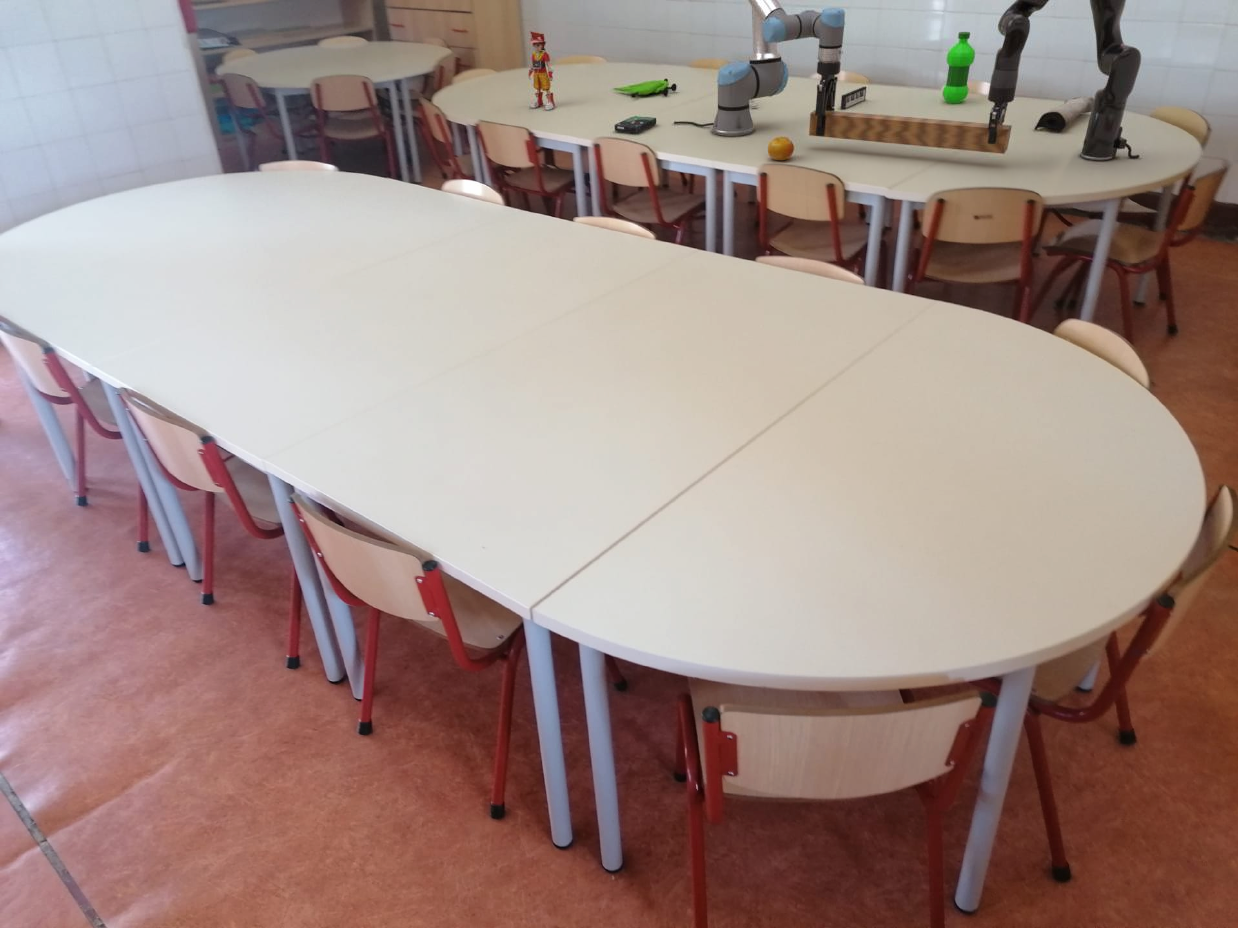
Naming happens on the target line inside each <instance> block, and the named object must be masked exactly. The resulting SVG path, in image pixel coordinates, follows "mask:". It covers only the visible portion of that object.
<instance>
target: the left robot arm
mask: <svg viewBox="0 0 1238 928" xmlns="http://www.w3.org/2000/svg"><path fill="white" fill-rule="evenodd" d="M747 1H748V2H749V4H750V6H751V20H752V21H751V22H752V24H751V25H752V48H753V49H752V55H751V56H750V57H749V59H748V61H733V62H729V63H726V64H724V65H723V66H721V67H720V68H719V70H718V75H717V111H716V114H715V118H714V120H713V122H708V123H702V124H701V123H698V122H695V121H687V120H686V121H685V120H684V121H673V124H675V125H677V124H678V125H679V124H681V125H682V124H683V125H685V124H686V125H692V126H696V127H703V128H704V127H708V126H709V127H711V126H712V133H713V134H715V135H717V136H721V137H741V136H746V135H750V134H752V133H754V127H755V126H754V121H753V118H752V115H751V111H750V107H749V100H750V99H752V100H756V99H760V98H761V99H762V98H767V97H769V98H770V97H773V96H776V95H780V94H781V93H782V92H784V89H785V88H786V87H787V84H788V81H789V67H787V66H788V65H787V63H786V62H785V60H783V59H782V55H781V54H780V53H779V52H778V43H782V42H789V41H794V40H802V39H808V38H815V39H819V40H818V41H819V42H818V49H817V50H818V51H817V60H818V62H817V66H816V73H817V75H820V76H821V78H820V81H819V84H817V85H816V100H815V110H816V111H815V116H817V128H816V135H820V136H824V132H825V121H826V116H825V111H826V110H827V111H836V108H835V104H836V96H837V95H836V94H837V83H838V78H839V77H838V76H836V75H839V74H840V72H841V59H842V54H844V51H843V43H844V33H845V25H846V21H845V18H846V11H845V10H844V9H843V8H840V7H828V8H823V9H822V10H821V12H820V11H816V10H813V9H811V10H809V9H806V10H803V11H801V13H796V14H787V12H786V11H785V10H784V8H783V7H782V5H781V4H780V2H779V0H747Z"/></svg>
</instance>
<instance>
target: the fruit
mask: <svg viewBox="0 0 1238 928" xmlns="http://www.w3.org/2000/svg"><path fill="white" fill-rule="evenodd" d="M794 152H795V145H794V143H793V141H792V140H791V139H790V138H789V137H786V136H779V137H775V138H773V139H772V140H771V141H769V143H768V146H767V153H768V155H769V157H770V158H771V159H773V160H775V161H784V160H788V159H789V158H791V156H792V155H793V154H794Z"/></svg>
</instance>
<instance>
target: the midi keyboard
mask: <svg viewBox="0 0 1238 928" xmlns="http://www.w3.org/2000/svg"><path fill="white" fill-rule="evenodd" d="M866 94H867V86H861V87H860V88H857V89H855V90H852V91H849V92H847V93H844V94H842V95H841V100H840V110H845V109H847V108H849V107H851V106H853V105H856V104H857V103H860V102H862V101H865V100H866V96H867V95H866Z"/></svg>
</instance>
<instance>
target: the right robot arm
mask: <svg viewBox="0 0 1238 928" xmlns="http://www.w3.org/2000/svg"><path fill="white" fill-rule="evenodd" d="M1049 1H1050V0H1015V1H1013V3H1012V4H1011V5H1010V6H1009V7H1008V8H1007V9H1006V10H1004V13H1003V14H1002V15H1001V17H1000V19H999V21H998V24H997V28H998V32H999V34H1000V35H1001V36H1003V37H1004V40H1003V42H1002V46H1001V47H1000V48H998V49H997V52H996V55H995V59H994V66H993V70H992V74H991V78H990V84H989V90H988V96H987V100H988V101H989V102H991V103H994V104H993V106H992V107H991V109H990V113H989V118H988V119H989V120H988V124H989V126H988V131H989V137H988V144H994V143H995V141H996V136H997V131H998V127H999V124H1001V125H1004V123H1005V118H1006V114H1007V110H1008V106H1009V103H1012V102H1013V101H1014V100H1015V97H1016V96H1015V95H1016V90H1017V85H1018V78H1019V69H1020V64H1021V58H1022V53H1023V50H1024V48H1025V46H1026V43H1027V41H1028V38H1029V36H1030V31H1031V20H1030V17H1031V16H1032V15H1033V14H1034V13H1035V12H1039V11H1041V10H1042V9H1043V8H1044V7H1045V6H1046V5H1047V4H1048V2H1049ZM1126 2H1127V0H1089V6H1090V10H1091V14H1092V23H1093V28H1094V32H1095V44H1096V61H1097V62H1096V63H1097V67H1098V70H1099V71H1100V72H1101V74H1102V75H1104V76H1107V77H1108V78H1107V81H1106V84H1105V86H1104V87H1103V88H1102V87H1101V88H1099V89H1097V90H1096V92H1095V94H1094V97H1093V99H1094V102H1093V106H1092V111H1091V112H1090V114H1089V115H1090V116H1089V120H1088V123H1087V129H1086V131H1085V136H1084V139H1083V140H1082V141H1083V143H1082V148H1081V152H1080V157H1081V158H1083V159H1086V160H1090V161H1109V160H1112V159H1115V158H1116V156H1117V152H1118V150H1125V149H1126V148H1127V156H1128V158H1129V159H1139V158H1140V154H1135V155H1132V147H1131V146H1130V145H1129V144H1128V143H1127V141H1128V140H1127V139H1126V138H1125V137H1122V133H1123V129H1124V128H1123V126H1121V125H1122V121H1123V117H1124V114H1125V111H1126V106H1127V103H1128V98H1129V96H1130V95H1131V93H1132V92H1133V90H1134V87H1135V84H1136V80H1137V77H1138V74H1139V71H1140V68H1141V63H1142V54H1141V51H1140V50H1139V49H1138V48H1137V47H1134V46H1132V45H1128V44H1125V43H1124V41H1123V36H1122V31H1121V19H1122V17H1123V13H1124V10H1125V8H1126V7H1125V6H1126ZM992 124H995V127H992Z"/></svg>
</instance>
